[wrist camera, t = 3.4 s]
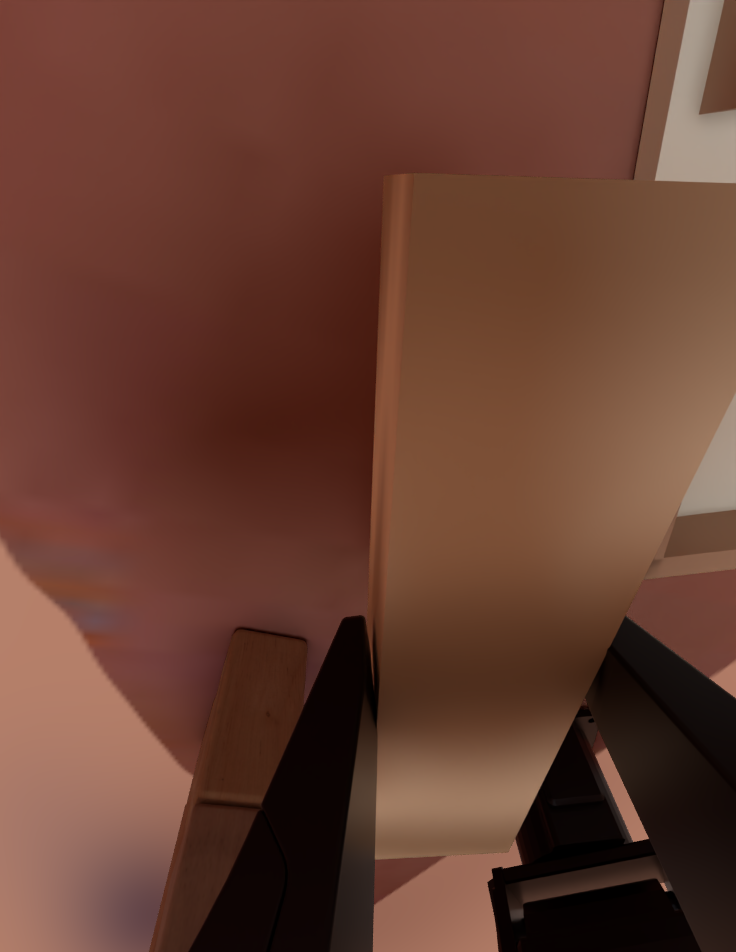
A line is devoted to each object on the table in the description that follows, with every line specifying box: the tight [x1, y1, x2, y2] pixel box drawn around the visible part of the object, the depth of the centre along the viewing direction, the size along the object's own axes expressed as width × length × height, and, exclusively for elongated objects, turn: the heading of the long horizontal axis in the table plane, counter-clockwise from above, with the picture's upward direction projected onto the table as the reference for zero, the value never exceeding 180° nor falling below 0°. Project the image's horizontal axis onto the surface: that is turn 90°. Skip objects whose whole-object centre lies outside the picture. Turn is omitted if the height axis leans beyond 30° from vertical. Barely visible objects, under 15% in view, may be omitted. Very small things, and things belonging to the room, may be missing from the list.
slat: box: [367, 173, 736, 859], centre depth 9 cm, size 14×4×3 cm, turn 179°
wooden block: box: [149, 629, 307, 952], centre depth 17 cm, size 4×11×18 cm, turn 161°
